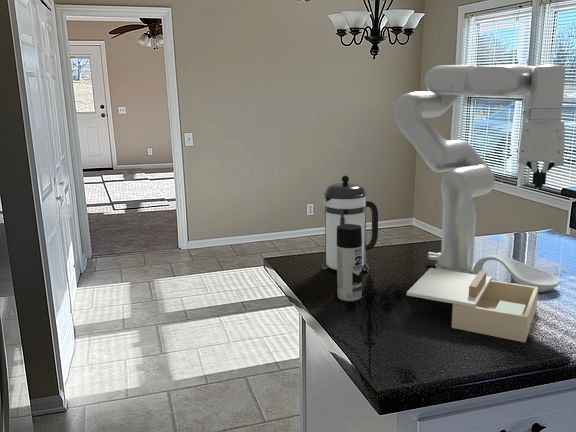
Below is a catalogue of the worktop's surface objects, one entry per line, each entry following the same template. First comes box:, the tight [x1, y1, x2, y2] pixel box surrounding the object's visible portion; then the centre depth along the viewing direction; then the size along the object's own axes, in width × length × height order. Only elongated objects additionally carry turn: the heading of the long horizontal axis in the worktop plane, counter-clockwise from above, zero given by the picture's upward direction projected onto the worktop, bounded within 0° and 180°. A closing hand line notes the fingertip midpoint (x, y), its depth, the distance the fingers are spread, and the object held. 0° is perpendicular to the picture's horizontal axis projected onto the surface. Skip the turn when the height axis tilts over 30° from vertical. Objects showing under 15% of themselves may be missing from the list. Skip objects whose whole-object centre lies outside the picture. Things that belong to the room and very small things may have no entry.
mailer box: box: [451, 280, 539, 343], centre depth 127 cm, size 16×20×6 cm
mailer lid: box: [406, 267, 493, 307], centre depth 132 cm, size 16×20×3 cm
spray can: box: [336, 224, 363, 302], centre depth 141 cm, size 7×7×20 cm
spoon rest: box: [472, 254, 561, 293], centre depth 150 cm, size 24×12×7 cm, turn 43°
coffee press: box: [321, 175, 379, 273], centre depth 162 cm, size 17×16×30 cm
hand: (538, 187), depth 137 cm, fingers closed
